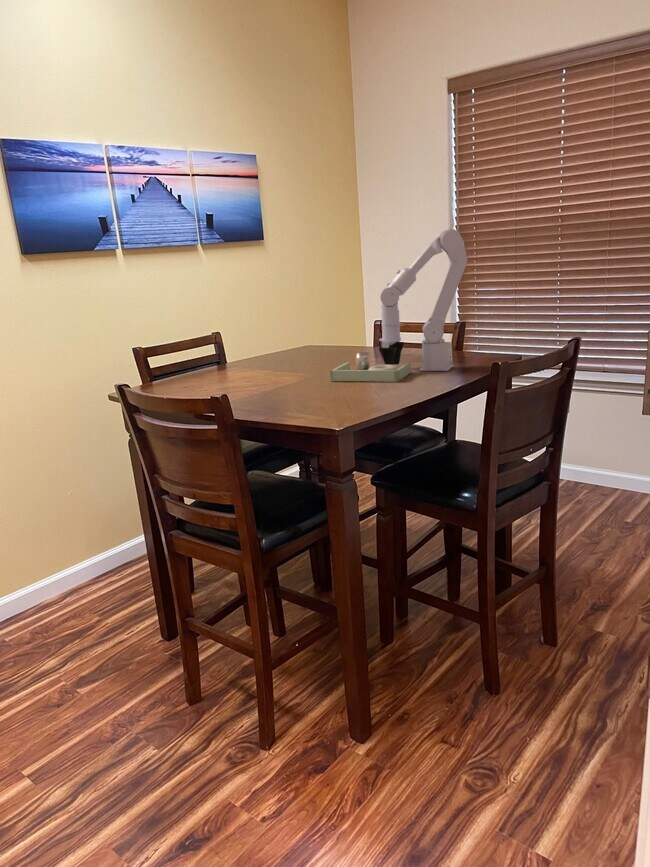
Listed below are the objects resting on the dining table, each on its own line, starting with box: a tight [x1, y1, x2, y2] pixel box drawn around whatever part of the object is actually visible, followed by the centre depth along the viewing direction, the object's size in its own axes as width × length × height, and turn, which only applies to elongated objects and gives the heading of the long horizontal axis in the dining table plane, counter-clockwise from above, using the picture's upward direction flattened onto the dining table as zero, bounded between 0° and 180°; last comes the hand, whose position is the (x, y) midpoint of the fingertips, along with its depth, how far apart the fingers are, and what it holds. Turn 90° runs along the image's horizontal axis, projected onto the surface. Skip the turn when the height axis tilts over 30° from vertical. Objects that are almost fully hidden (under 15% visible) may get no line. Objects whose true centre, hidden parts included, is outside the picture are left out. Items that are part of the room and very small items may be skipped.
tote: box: [329, 361, 412, 383], centre depth 207 cm, size 22×15×4 cm
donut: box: [368, 363, 399, 370], centre depth 205 cm, size 10×4×10 cm
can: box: [355, 351, 370, 370], centre depth 220 cm, size 4×4×6 cm
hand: (392, 366), depth 215 cm, fingers open, 7 cm apart
